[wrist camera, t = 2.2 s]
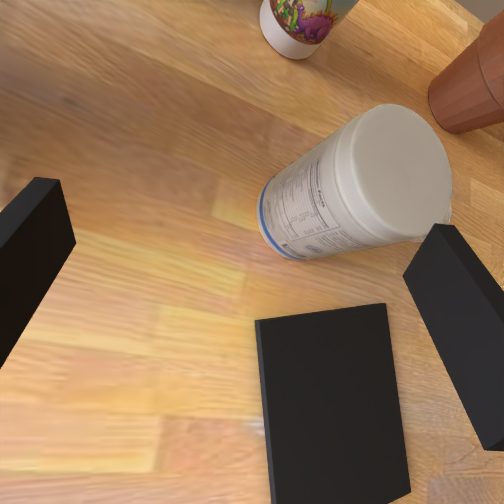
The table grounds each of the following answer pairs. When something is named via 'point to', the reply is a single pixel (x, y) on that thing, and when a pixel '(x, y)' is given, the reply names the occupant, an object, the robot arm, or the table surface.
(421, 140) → the supplement tub
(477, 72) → the potted plant
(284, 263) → the table surface
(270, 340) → the mat
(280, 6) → the milk bottle
